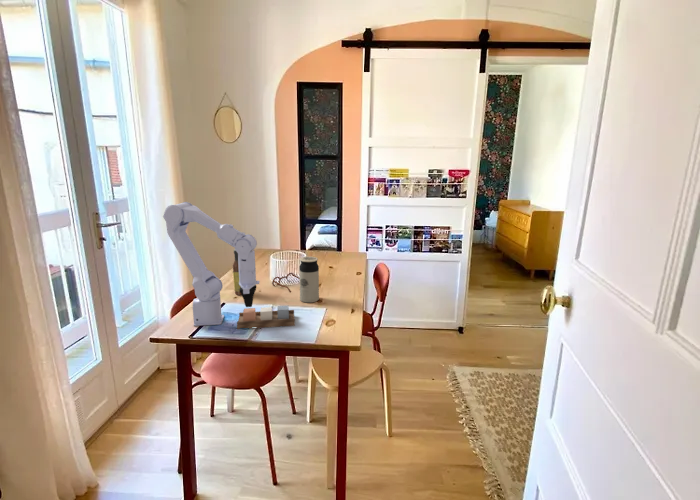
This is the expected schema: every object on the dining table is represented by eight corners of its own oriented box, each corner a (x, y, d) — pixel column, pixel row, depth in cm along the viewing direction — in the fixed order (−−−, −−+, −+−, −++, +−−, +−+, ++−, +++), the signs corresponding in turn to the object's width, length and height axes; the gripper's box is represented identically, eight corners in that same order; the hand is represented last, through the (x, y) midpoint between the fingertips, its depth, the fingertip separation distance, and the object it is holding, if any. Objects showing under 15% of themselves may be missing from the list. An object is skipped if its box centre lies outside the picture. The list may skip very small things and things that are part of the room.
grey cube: (277, 319, 141) (277, 310, 141) (277, 314, 145) (277, 306, 144) (288, 318, 142) (288, 309, 141) (288, 314, 146) (288, 305, 145)
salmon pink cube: (243, 321, 139) (243, 312, 139) (244, 317, 143) (244, 308, 142) (255, 321, 140) (254, 312, 139) (255, 316, 144) (255, 307, 143)
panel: (237, 329, 137) (236, 322, 136) (239, 318, 146) (239, 312, 145) (294, 325, 140) (294, 319, 140) (294, 315, 149) (293, 309, 148)
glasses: (292, 281, 192) (292, 271, 191) (311, 286, 184) (311, 276, 183) (271, 287, 182) (271, 277, 181) (291, 294, 174) (290, 283, 173)
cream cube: (260, 320, 140) (260, 311, 140) (261, 316, 144) (260, 307, 143) (272, 320, 141) (271, 311, 140) (272, 315, 145) (272, 307, 144)
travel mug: (310, 295, 171) (310, 255, 167) (322, 299, 166) (322, 258, 162) (296, 299, 166) (295, 258, 162) (307, 304, 161) (307, 262, 156)
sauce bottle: (251, 293, 173) (249, 249, 168) (239, 296, 168) (236, 252, 164) (243, 290, 177) (241, 247, 172) (231, 293, 173) (228, 249, 168)
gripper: (257, 275, 131) (259, 313, 134) (259, 264, 145) (261, 298, 148) (235, 276, 130) (238, 314, 133) (240, 264, 144) (242, 299, 147)
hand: (248, 306), depth 141 cm, fingers closed
